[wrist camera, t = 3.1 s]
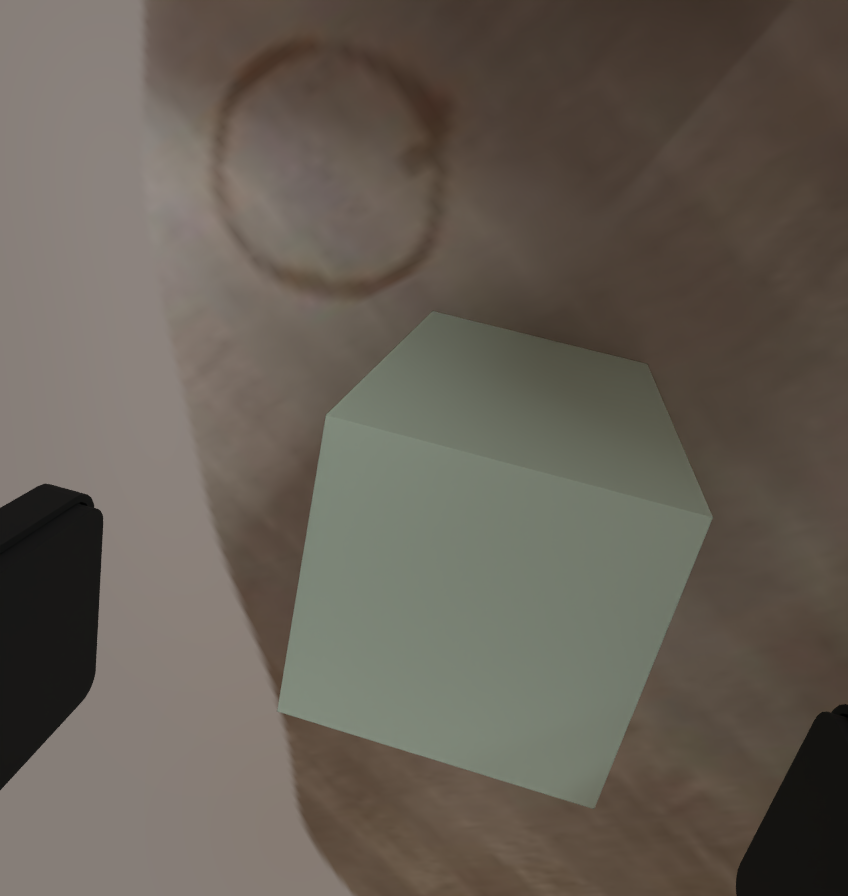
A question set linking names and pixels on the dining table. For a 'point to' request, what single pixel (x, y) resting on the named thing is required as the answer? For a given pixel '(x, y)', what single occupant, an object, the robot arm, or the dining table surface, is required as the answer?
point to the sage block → (493, 555)
